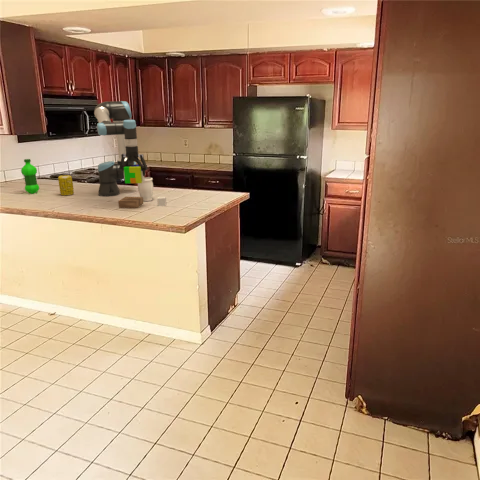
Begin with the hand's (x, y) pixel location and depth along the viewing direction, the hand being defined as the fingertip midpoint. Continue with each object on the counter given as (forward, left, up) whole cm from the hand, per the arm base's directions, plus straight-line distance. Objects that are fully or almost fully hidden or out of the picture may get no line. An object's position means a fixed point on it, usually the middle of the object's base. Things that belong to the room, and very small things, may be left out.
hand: (134, 180), depth 270 cm
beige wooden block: (-7, +15, -17) cm, 24 cm away
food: (-23, -66, -17) cm, 72 cm away
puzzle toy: (0, 0, -1) cm, 1 cm away
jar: (-18, -1, -17) cm, 25 cm away
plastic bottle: (-24, -96, -17) cm, 101 cm away
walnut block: (-1, -4, -17) cm, 18 cm away
